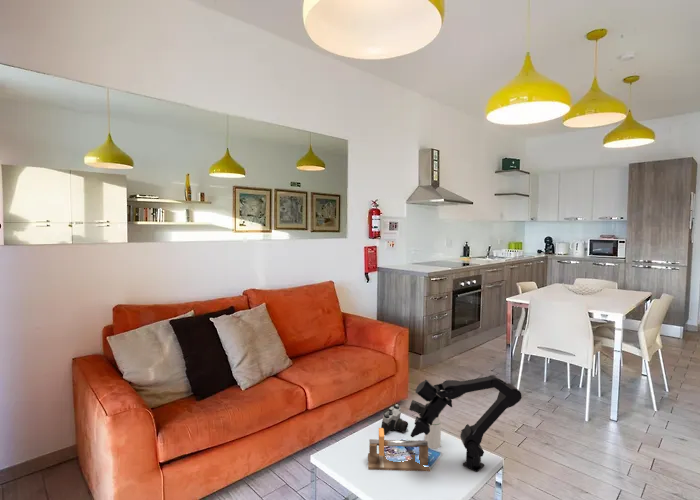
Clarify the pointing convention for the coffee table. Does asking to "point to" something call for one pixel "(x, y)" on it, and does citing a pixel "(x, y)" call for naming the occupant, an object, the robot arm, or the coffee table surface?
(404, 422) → the camera
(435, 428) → the cylindrical container
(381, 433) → the collar
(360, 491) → the coffee table surface
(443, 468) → the coffee table surface
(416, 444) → the pipe
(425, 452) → the stand
